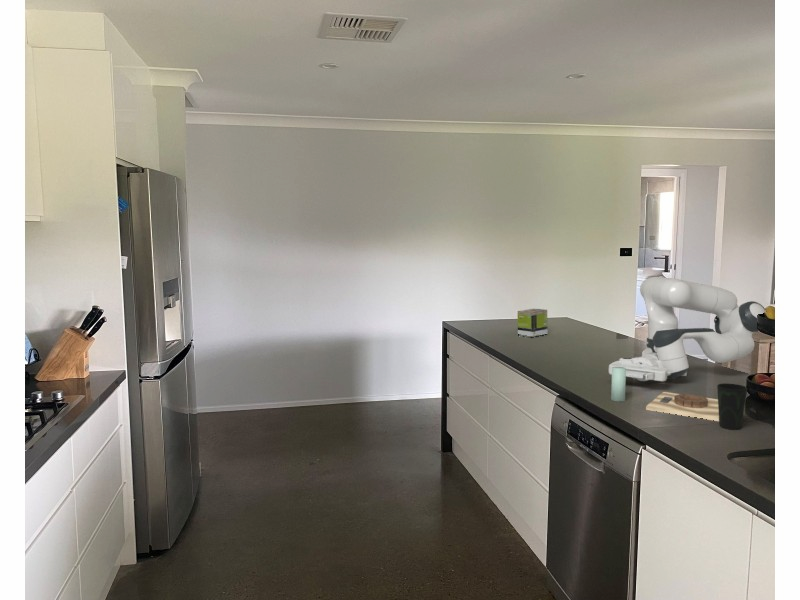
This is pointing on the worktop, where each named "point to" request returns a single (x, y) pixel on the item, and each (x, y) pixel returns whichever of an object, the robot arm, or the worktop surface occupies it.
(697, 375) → the worktop surface
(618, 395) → the peg
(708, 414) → the socket board
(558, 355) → the worktop surface
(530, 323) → the tea box
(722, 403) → the cup
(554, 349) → the worktop surface
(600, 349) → the worktop surface
